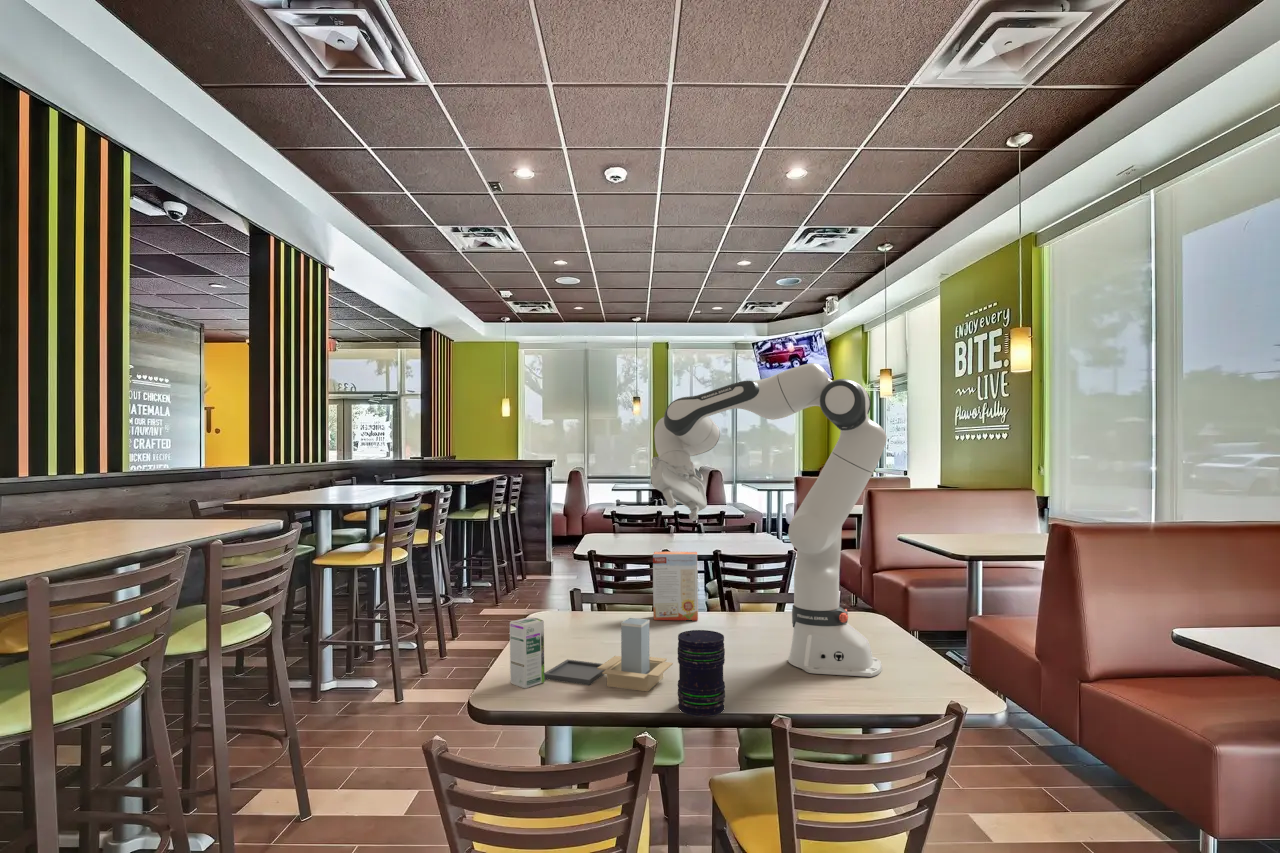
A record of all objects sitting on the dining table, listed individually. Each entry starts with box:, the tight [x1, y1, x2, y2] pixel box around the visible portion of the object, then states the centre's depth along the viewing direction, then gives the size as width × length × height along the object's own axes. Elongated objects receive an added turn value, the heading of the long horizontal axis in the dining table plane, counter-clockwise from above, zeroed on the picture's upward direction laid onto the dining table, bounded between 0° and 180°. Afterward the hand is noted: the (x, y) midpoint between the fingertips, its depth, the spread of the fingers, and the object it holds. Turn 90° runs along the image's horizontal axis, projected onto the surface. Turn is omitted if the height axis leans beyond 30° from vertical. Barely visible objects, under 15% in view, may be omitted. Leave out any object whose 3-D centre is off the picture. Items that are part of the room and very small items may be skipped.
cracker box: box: [652, 551, 699, 622], centre depth 226 cm, size 14×6×21 cm, turn 84°
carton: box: [597, 655, 674, 692], centre depth 166 cm, size 15×15×4 cm
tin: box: [620, 617, 651, 674], centre depth 166 cm, size 5×5×14 cm
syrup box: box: [509, 616, 546, 689], centre depth 165 cm, size 6×6×14 cm
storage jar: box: [677, 629, 726, 718], centre depth 149 cm, size 10×10×15 cm
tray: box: [544, 658, 605, 686], centre depth 171 cm, size 12×12×1 cm
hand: (683, 513), depth 183 cm, fingers open, 8 cm apart
